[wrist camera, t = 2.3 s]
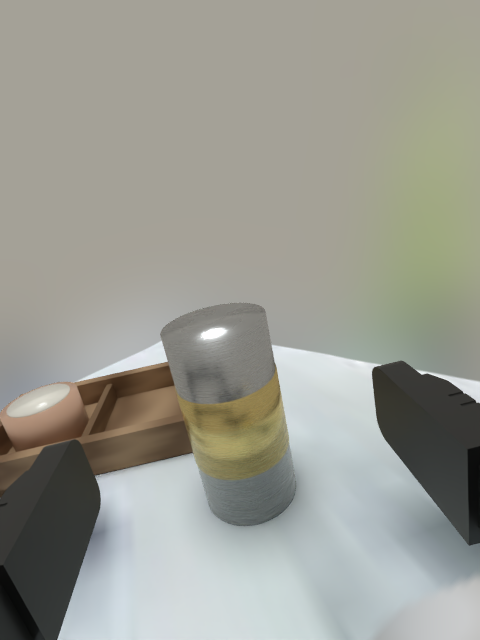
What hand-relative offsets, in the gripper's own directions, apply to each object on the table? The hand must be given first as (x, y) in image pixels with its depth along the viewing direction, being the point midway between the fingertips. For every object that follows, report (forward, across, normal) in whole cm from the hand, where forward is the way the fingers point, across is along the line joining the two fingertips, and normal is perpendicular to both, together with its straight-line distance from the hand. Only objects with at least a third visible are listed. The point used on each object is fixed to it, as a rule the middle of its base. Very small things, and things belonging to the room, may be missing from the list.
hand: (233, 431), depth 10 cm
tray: (+22, +12, +12) cm, 28 cm away
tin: (+12, 0, +12) cm, 17 cm away
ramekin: (+22, +17, +11) cm, 31 cm away
